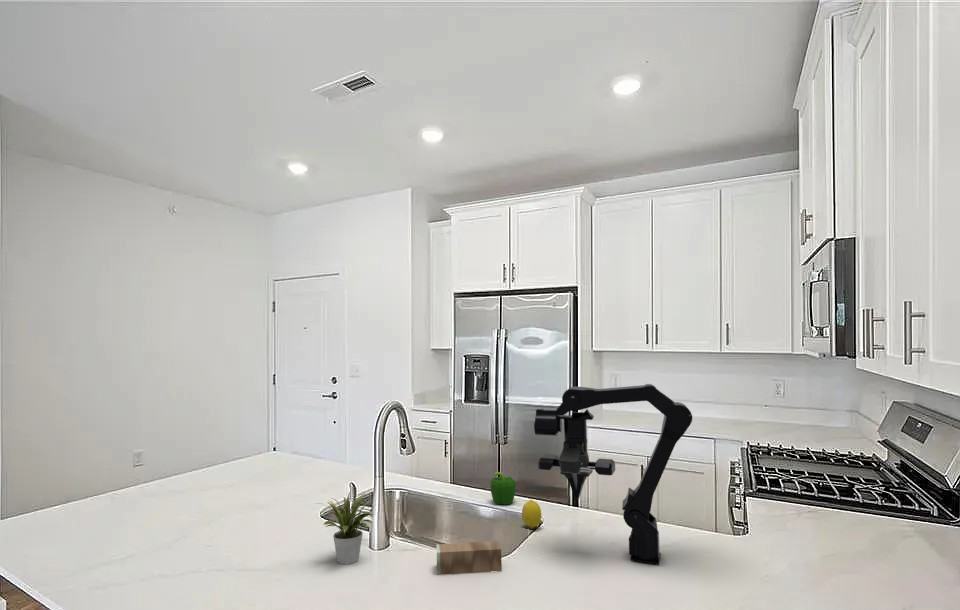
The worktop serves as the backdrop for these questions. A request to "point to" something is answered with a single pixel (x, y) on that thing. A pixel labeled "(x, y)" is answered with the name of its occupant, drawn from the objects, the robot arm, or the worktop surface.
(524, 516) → the lemon
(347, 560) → the house plant
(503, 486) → the bell pepper
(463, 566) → the walnut block
